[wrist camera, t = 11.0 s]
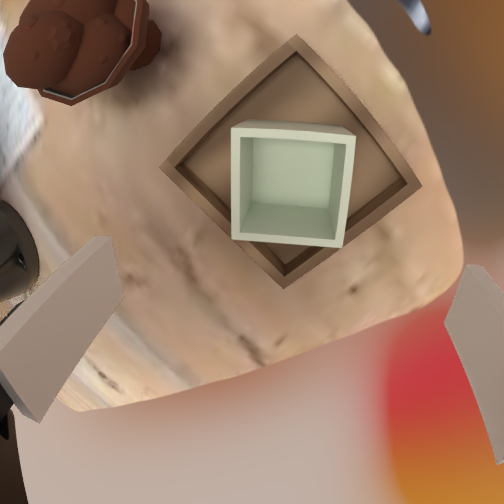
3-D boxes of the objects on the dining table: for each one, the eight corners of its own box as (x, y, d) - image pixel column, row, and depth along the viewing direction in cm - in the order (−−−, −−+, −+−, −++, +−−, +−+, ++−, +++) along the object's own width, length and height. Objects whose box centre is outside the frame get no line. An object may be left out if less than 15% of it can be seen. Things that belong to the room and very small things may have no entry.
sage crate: (246, 206, 29) (231, 239, 23) (247, 119, 26) (231, 127, 19) (333, 213, 28) (342, 248, 22) (341, 125, 25) (356, 136, 19)
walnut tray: (171, 160, 29) (159, 167, 26) (296, 40, 22) (296, 34, 20) (284, 272, 33) (283, 289, 30) (411, 177, 26) (422, 186, 24)
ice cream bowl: (201, 74, 25) (111, 63, 12) (100, 110, 27) (-14, 140, 14) (179, -22, 20) (89, -84, 7) (82, 23, 23) (-30, 13, 9)
